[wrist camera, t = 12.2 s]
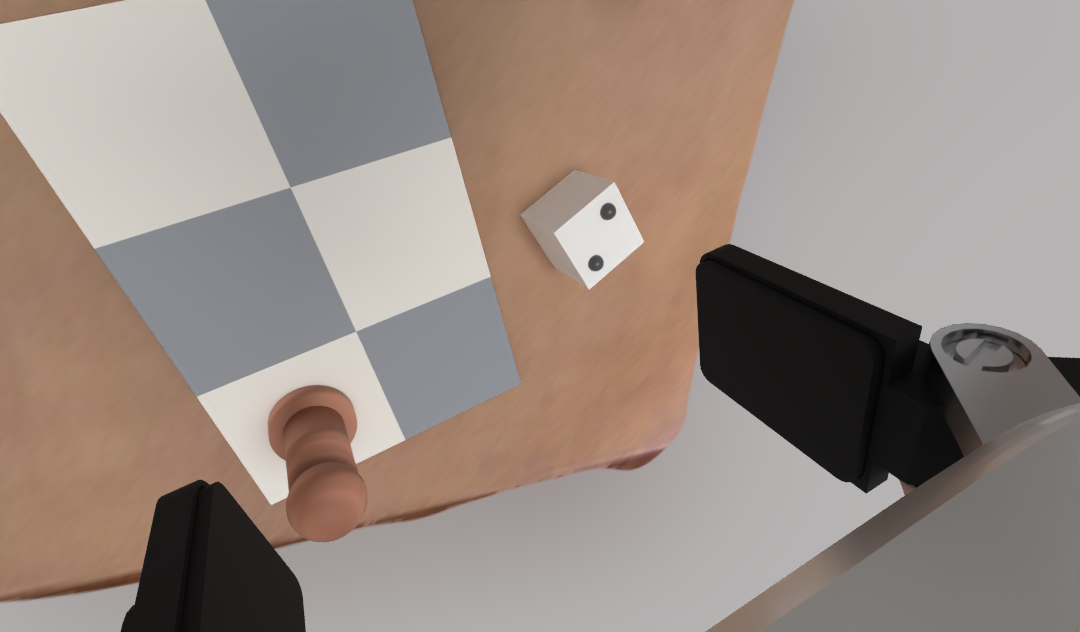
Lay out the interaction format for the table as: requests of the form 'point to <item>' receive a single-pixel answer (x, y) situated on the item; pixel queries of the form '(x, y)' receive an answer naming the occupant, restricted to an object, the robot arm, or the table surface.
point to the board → (270, 204)
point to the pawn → (319, 461)
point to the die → (583, 227)
